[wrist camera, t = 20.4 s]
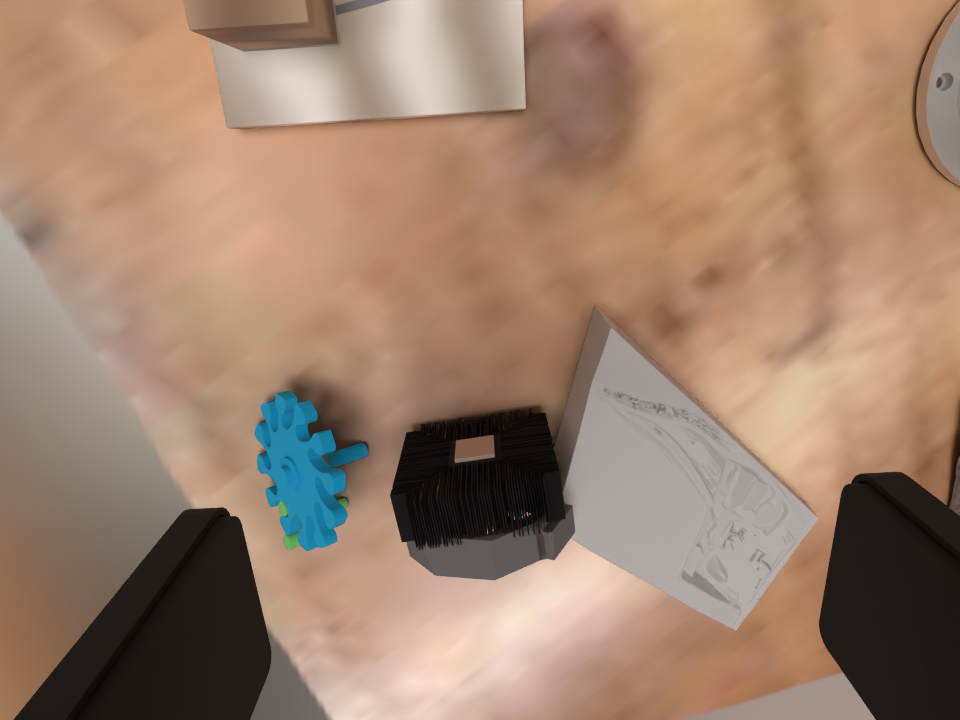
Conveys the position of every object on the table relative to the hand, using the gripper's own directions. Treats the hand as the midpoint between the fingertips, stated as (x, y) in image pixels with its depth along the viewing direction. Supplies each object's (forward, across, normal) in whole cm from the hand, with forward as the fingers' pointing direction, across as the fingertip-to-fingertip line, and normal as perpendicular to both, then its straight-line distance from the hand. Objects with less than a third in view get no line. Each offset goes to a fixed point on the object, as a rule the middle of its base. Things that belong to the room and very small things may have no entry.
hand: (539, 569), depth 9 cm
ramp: (+29, -11, +16) cm, 35 cm away
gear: (+29, +13, +13) cm, 34 cm away
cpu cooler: (+28, +2, +13) cm, 31 cm away
